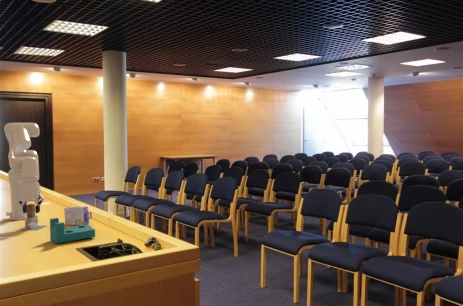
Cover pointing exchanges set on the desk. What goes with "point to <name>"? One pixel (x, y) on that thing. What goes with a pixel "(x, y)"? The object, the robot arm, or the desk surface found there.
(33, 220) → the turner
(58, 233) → the teal l-shaped bracket
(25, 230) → the tool mat
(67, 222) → the ink cartridge box
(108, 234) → the desk surface
